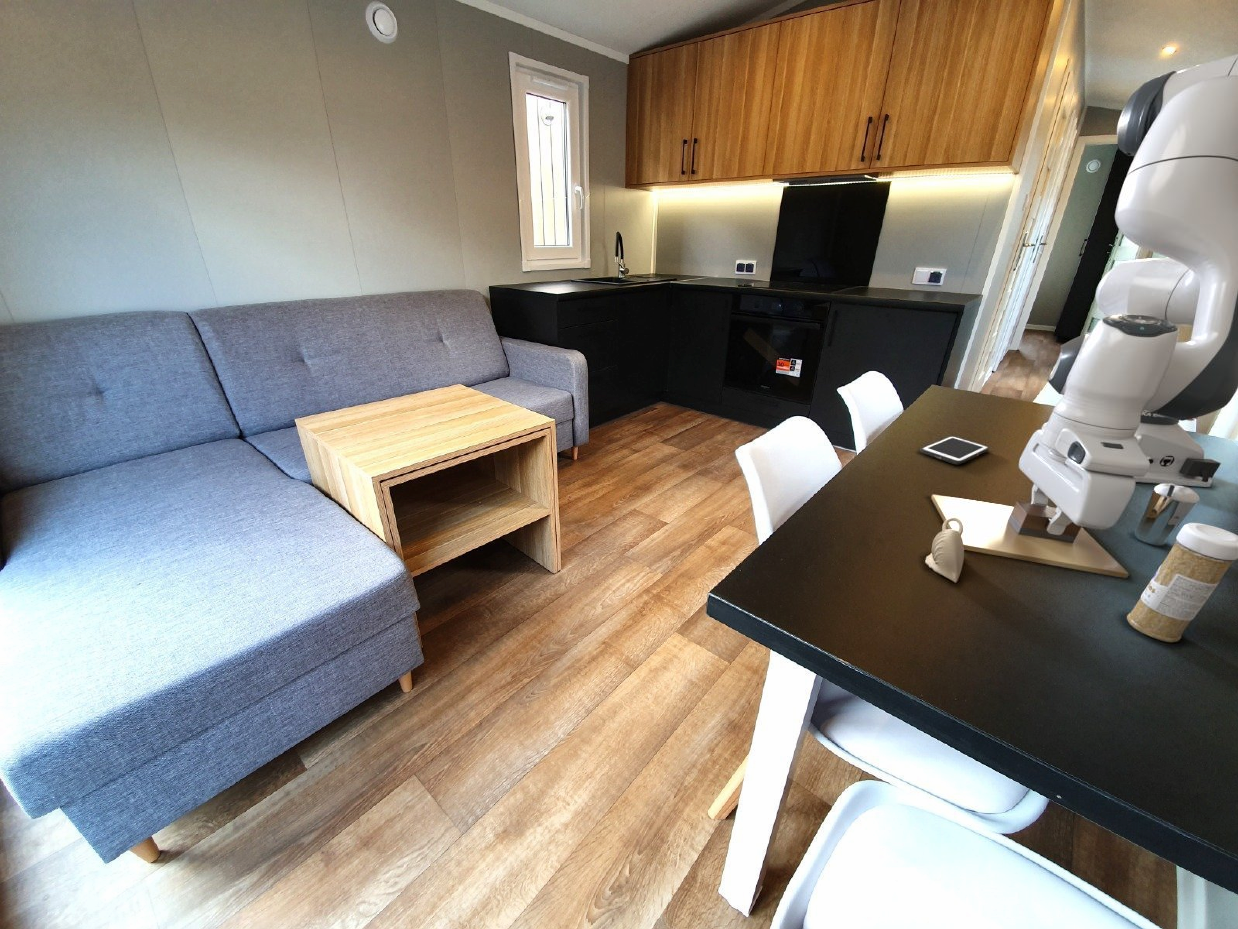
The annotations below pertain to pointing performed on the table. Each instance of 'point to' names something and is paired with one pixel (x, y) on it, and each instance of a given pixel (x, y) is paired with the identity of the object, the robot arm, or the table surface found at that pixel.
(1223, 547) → the sprinkles bottle
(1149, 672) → the table surface
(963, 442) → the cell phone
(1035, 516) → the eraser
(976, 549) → the writing board
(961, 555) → the decorative ornament
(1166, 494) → the silver metal cylinder
